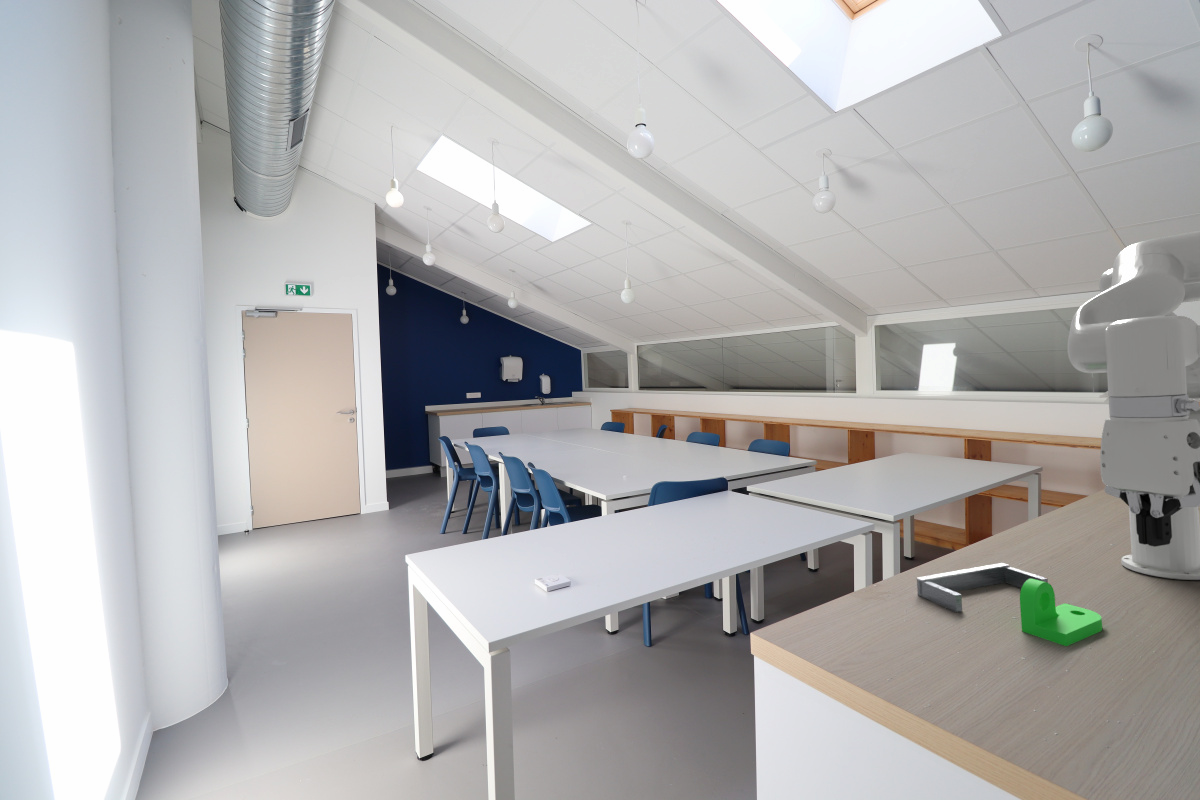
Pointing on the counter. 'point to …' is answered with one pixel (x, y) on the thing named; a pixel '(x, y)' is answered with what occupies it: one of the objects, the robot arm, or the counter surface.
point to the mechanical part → (1054, 616)
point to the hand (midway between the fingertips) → (1154, 543)
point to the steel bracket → (969, 583)
